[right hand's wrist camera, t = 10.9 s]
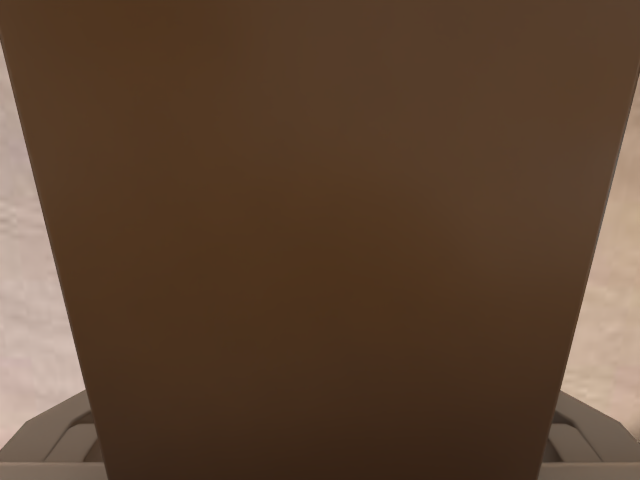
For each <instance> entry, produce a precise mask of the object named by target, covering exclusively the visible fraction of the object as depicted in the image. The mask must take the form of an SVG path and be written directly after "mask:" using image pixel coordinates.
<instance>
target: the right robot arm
mask: <svg viewBox="0 0 640 480" xmlns="http://www.w3.org/2000/svg"><path fill="white" fill-rule="evenodd" d="M0 480H108V478H107V474H106V470H105V466H104V462H103V457H102V453H101V449H100V445H99V441H98V437H97V433H96V429H95V425H94V421H93V417H92V413H91V408H90V404H89V400H88V396H87V392H86V390H84V391H82V392H80V393H78V394H76V395H75V396H73V397H71V398H69V399H67V400H65V401H63V402H62V403H60V404H58V405H56V406H54V407H52V408H51V409H49V410H47V411H45V412H43V413H41V414H40V415H38V416H36V417H34V418H32V419H30V420H28V421H27V422H25V424H24V425H23V426H22V427H21V428H20V429H19V430H18V431H17V432H16V434H15V435H14V436H13V437H12V438H11V439H10V440H9V441H8V442H7V444H6V445H5V446H4V447H3V448H2V449H1V450H0ZM538 480H640V444H639V443H638V442H637V441H636V439H635V438H634V437H633V436H632V435H631V434H630V433H629V432H628V431H627V430H626V428H625V427H624V426H623V425H622V424H621V423H620V422H618V421H616V420H615V419H613V418H611V417H609V416H607V415H605V414H603V413H602V412H600V411H598V410H596V409H594V408H592V407H590V406H589V405H587V404H585V403H583V402H581V401H579V400H577V399H576V398H574V397H572V396H570V395H568V394H566V393H564V392H563V391H561V390H560V393H559V397H558V401H557V405H556V409H555V413H554V417H553V421H552V425H551V428H550V432H549V436H548V440H547V444H546V448H545V452H544V456H543V460H542V464H541V468H540V472H539V476H538Z"/></svg>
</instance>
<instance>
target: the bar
mask: <svg viewBox="0 0 640 480" xmlns="http://www.w3.org/2000/svg"><path fill="white" fill-rule="evenodd" d="M0 41H1V45H2V49H3V53H4V57H5V61H6V65H7V69H8V73H9V78H10V82H11V86H12V90H13V94H14V98H15V102H16V106H17V110H18V114H19V118H20V122H21V127H22V131H23V135H24V139H25V143H26V147H27V151H28V155H29V159H30V163H31V167H32V171H33V176H34V180H35V184H36V188H37V192H38V196H39V200H40V204H41V208H42V212H43V216H44V221H45V225H46V229H47V233H48V237H49V241H50V245H51V249H52V253H53V257H54V261H55V265H56V270H57V274H58V278H59V282H60V286H61V290H62V294H63V298H64V302H65V306H66V310H67V314H68V319H69V323H70V327H71V331H72V335H73V339H74V343H75V347H76V351H77V355H78V359H79V364H80V368H81V372H82V376H83V380H84V384H85V388H86V392H87V396H88V400H89V404H90V408H91V413H92V417H93V421H94V425H95V429H96V433H97V437H98V441H99V445H100V449H101V453H102V457H103V462H104V466H105V470H106V474H107V478H108V480H538V476H539V472H540V468H541V464H542V460H543V456H544V452H545V448H546V444H547V440H548V436H549V432H550V428H551V425H552V421H553V417H554V413H555V409H556V405H557V401H558V397H559V393H560V389H561V385H562V381H563V377H564V373H565V369H566V365H567V361H568V357H569V353H570V349H571V345H572V341H573V337H574V333H575V329H576V325H577V321H578V317H579V313H580V309H581V305H582V301H583V297H584V293H585V289H586V285H587V281H588V277H589V273H590V269H591V265H592V261H593V257H594V253H595V249H596V245H597V241H598V237H599V233H600V229H601V225H602V221H603V217H604V213H605V209H606V205H607V201H608V197H609V193H610V189H611V185H612V181H613V177H614V173H615V169H616V165H617V161H618V157H619V153H620V149H621V145H622V141H623V137H624V133H625V129H626V125H627V121H628V117H629V113H630V109H631V105H632V101H633V97H634V93H635V89H636V85H637V81H638V77H639V73H640V0H0Z"/></svg>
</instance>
